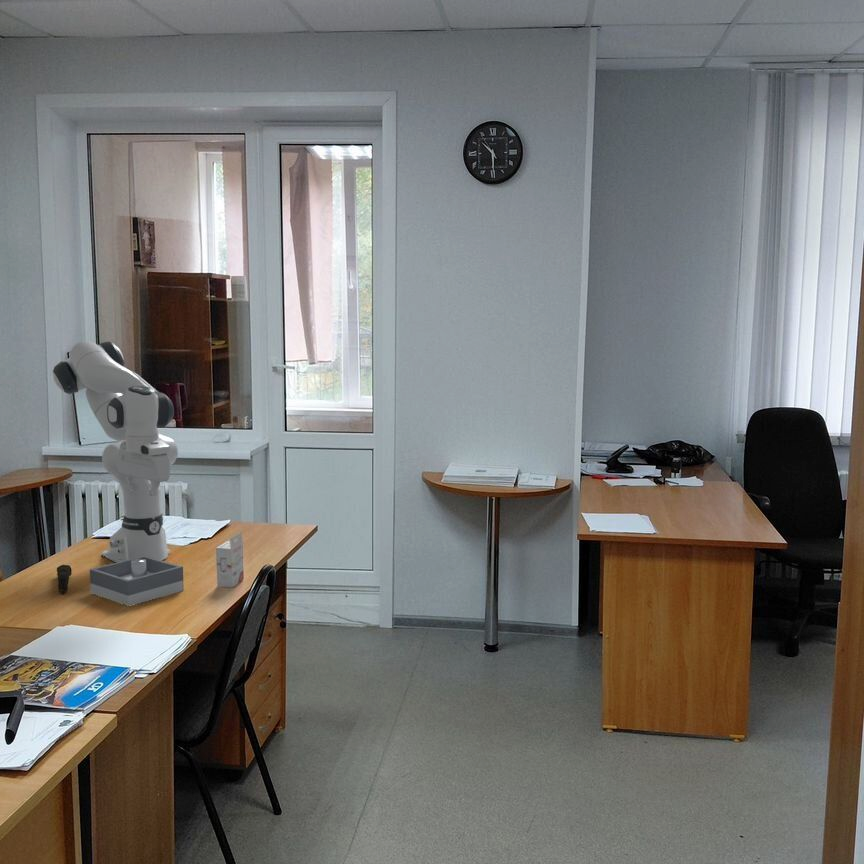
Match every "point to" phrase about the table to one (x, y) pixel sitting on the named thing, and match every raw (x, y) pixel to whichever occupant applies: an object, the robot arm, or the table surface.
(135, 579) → the open gray box
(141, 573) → the peg
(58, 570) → the hand tool
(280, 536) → the table surface
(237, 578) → the ink cartridge box
